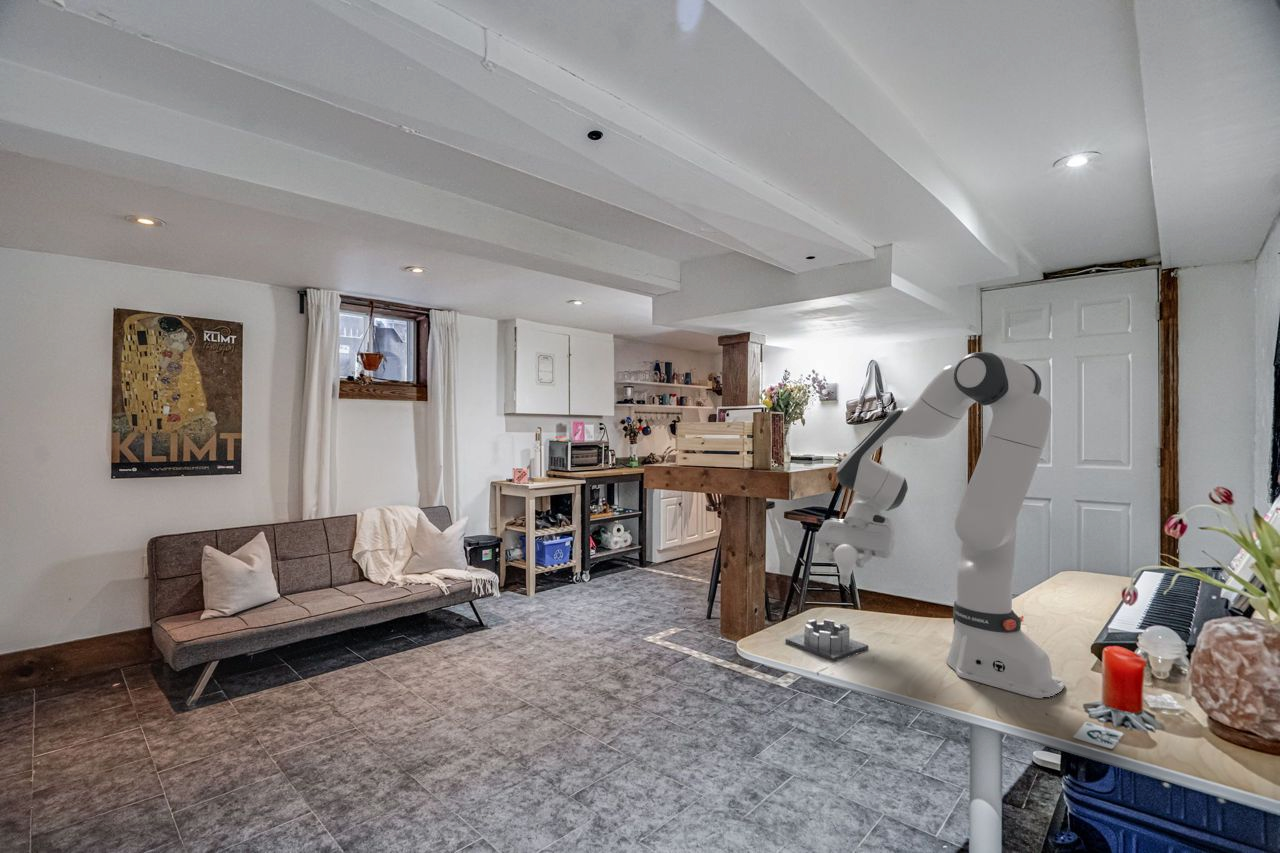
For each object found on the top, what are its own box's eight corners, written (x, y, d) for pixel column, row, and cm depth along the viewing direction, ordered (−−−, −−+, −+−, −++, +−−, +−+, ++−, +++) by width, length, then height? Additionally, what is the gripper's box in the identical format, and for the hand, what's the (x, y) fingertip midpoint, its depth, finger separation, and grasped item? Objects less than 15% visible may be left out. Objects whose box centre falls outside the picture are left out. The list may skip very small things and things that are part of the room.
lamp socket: (868, 649, 146) (868, 628, 146) (833, 662, 137) (834, 640, 137) (820, 631, 157) (821, 613, 157) (785, 642, 149) (786, 622, 149)
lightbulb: (830, 586, 157) (832, 544, 156) (834, 580, 162) (836, 540, 162) (855, 590, 154) (857, 548, 153) (859, 584, 159) (860, 543, 159)
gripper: (822, 510, 170) (805, 549, 163) (895, 520, 156) (879, 563, 149) (829, 524, 173) (812, 563, 166) (901, 534, 159) (886, 577, 152)
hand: (844, 563), depth 157 cm, fingers closed on lightbulb, 6 cm apart
